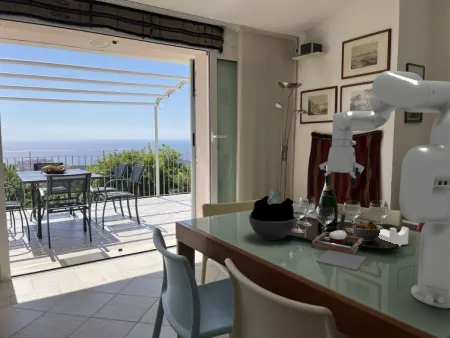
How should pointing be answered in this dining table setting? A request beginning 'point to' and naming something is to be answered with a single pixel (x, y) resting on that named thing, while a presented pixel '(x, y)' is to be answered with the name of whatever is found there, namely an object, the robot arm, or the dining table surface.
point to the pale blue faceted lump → (274, 197)
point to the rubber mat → (341, 260)
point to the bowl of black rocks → (272, 218)
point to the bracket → (395, 236)
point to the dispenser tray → (336, 247)
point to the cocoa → (339, 233)
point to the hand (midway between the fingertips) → (340, 186)
